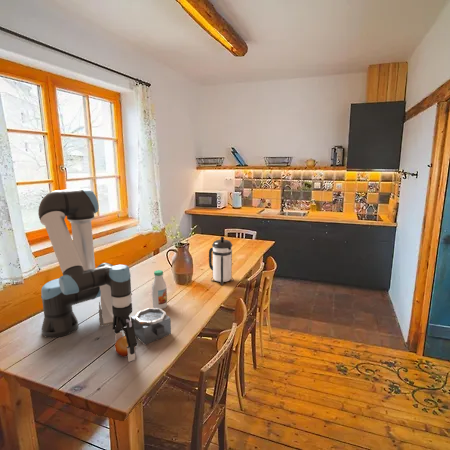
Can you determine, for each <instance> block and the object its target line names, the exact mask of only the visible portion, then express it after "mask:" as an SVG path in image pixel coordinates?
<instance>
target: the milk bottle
mask: <svg viewBox="0 0 450 450" xmlns="http://www.w3.org/2000/svg"><path fill="white" fill-rule="evenodd" d="M153 276H154V278H153V279H154V280H153V282H152V284H151V285H152V286H151V297H152V301H151V303H152V308H160V309H162V310H163V309H165V308H166V307H168V293H167V291H168V289H167V283H166V281H165V279H164V271H163V270H162V269H158V270H154V272H153Z"/></svg>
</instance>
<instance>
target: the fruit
mask: <svg viewBox="0 0 450 450" xmlns="http://www.w3.org/2000/svg"><path fill="white" fill-rule="evenodd" d="M127 346H128V343H127V340H126V336H125V335H124V336H123V335H122V337H121V338H119V339H118V340H117V341H116V340H115V343H114V349H115V352H116V353H117V354H118V356H120V357H121V358H126V357H128V351H127Z"/></svg>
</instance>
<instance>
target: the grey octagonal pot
mask: <svg viewBox="0 0 450 450" xmlns="http://www.w3.org/2000/svg"><path fill="white" fill-rule="evenodd" d="M171 318H172V317H170V316H169V315H167V312H166V311H164V310H163V309H160V308H153V307H147V308H144V309H141V310H139V311H137V313H136V314H134V315H131V316H130V321H133V323H134V330H135V335H136V339H137V340H139V339H140V340H141V341H140V342H141V343H143V344H144V345H145V344H146V345H148V344H150V343H152V342H155V341H157V339H158V340H160V339H162V338H165V337H167V336H169V334H170V335H171V334H172V325H171V322H172V321H171V320H172V319H171ZM164 336H165V337H164ZM147 343H148V344H147Z"/></svg>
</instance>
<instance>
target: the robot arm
mask: <svg viewBox="0 0 450 450" xmlns="http://www.w3.org/2000/svg"><path fill="white" fill-rule="evenodd" d="M98 201H99V200H98V198H97V195H96V194H95V192H94V191H93V190H91V189H90V188H74V189H71V188H70V189H61V190H60V189H57V190H52V191H50V192H48V193H47V194H45V196H44V197H43V198H42V199H41V201H40V203H39V205H38V211H37V212H38V218H39V221H40V223H41V224H42V225H43V226H45V230H46V232H47V234H48V238H49V240H50V244H51V246H52V249H53V251H54V254H55V257H56V259H57V262H58V265H59V268H60V271H61V272H62V276H61V275H60V276H59V278H55V279H52V280H50V281H47V282H46V283H45V284H44V285H42V287H41V291H40V292H41V301H42V309H43V321H42V324H41V325H42V326H41V334H43V335H44V337H45V336H46V337H45V338H48V337H51V338H52V339H54V338H55V337H56V338H61V337H65V336H67V335H69V334H70V335H71V334H72V333H73V332H75V331H76V330H77V329H78V327H79V320H78V318H77V316H76V315H75V313H74V311H73V306H74V305H78V304H81V303H84V302H88V301H91V300H95V299H97V298H101V291H100V287H99V286H103V285H106V284H107V285H109V286H110V287H111V301H112V305H113V306H112V311H113V315H114V316H113V324H112V330H113V332H114V335H115V337H114V338H115V342H116V341H117V340H118V339H119V338H121V337H123V333H124V336H126V340H127V343H128V346H127V351H128V356H127V361H128V362H131V361H135V360H136V347H137V346H138V341H137V340H138V339H137V337H136V335H135V330H134V323H133V321H131V317H130V315H131V314H132V313H133V303H132V301H133V300H132V299H133V298H132V295H133V293H132V286H131V285H132V283H131V282H132V281H131V278H132V276H131V270H130V267H129V266H128V265H127V264H115V265H113V264H111V263H108V262H102V263H101V264H99V265H97V267H96V263H95V262H96V261H95V250H94V240H93V237H94V236H93V225H92V221H93V220H94V218H95V214H97V213H98V211H99V202H98ZM65 219H66V220H67V221H68V222H69V223H70V225H71V233H70V230H69V229H68V226H67V222H66V220H65ZM71 235H72V236H71ZM43 335H42V336H43ZM53 337H54V338H53ZM51 338H50V339H51ZM56 338H55V339H56Z"/></svg>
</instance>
